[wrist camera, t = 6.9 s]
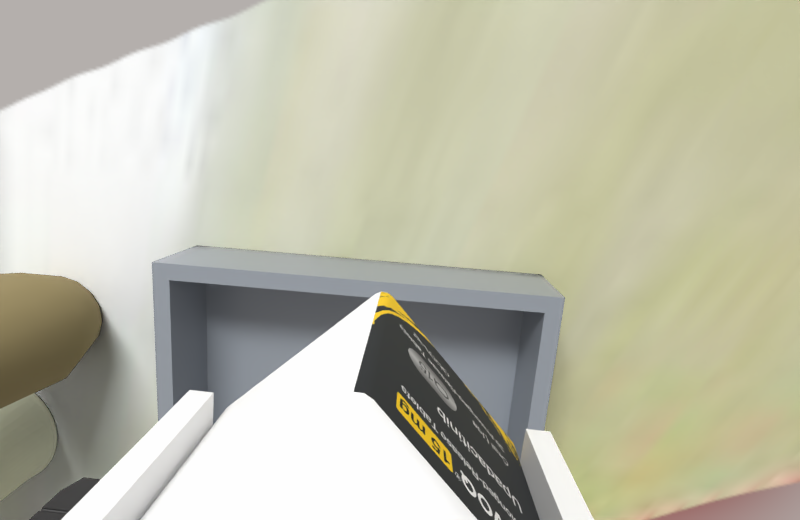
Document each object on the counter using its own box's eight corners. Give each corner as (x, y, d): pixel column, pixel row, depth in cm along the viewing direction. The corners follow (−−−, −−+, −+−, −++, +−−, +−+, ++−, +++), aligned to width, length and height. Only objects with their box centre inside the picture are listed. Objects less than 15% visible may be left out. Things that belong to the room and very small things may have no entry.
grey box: (540, 274, 32) (564, 297, 26) (508, 501, 36) (523, 562, 30) (196, 245, 32) (152, 262, 27) (200, 470, 36) (162, 524, 31)
